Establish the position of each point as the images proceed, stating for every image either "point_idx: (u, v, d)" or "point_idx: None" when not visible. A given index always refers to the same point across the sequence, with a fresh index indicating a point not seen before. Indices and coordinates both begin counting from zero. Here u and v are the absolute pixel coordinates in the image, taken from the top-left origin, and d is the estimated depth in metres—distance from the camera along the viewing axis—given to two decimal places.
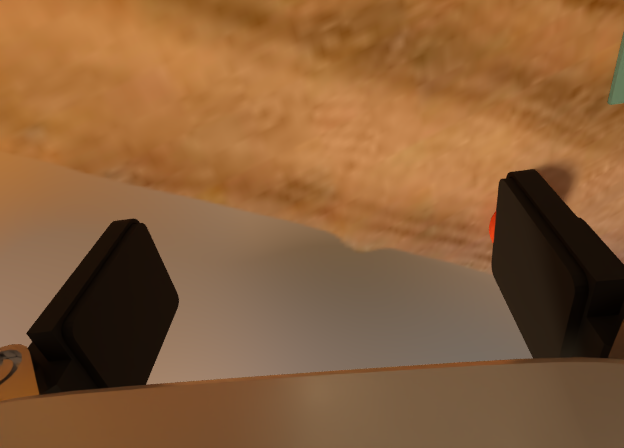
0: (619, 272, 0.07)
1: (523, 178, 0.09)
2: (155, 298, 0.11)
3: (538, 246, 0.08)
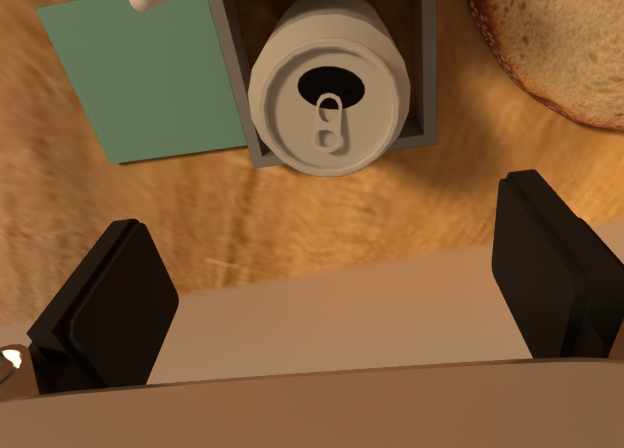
0: (618, 272, 0.07)
1: (523, 178, 0.09)
2: (155, 298, 0.11)
3: (538, 246, 0.08)
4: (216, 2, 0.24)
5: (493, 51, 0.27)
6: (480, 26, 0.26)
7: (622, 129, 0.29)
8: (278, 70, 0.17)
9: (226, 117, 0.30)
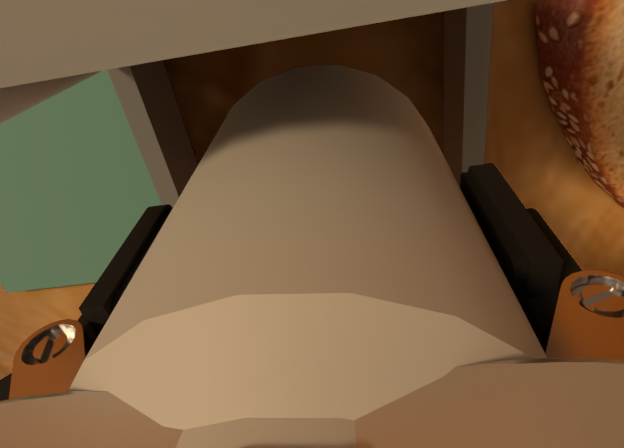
0: (553, 256, 0.07)
1: (481, 171, 0.10)
2: None
3: (489, 234, 0.09)
4: (128, 92, 0.15)
5: (570, 140, 0.18)
6: (557, 103, 0.17)
7: None
8: None
9: None
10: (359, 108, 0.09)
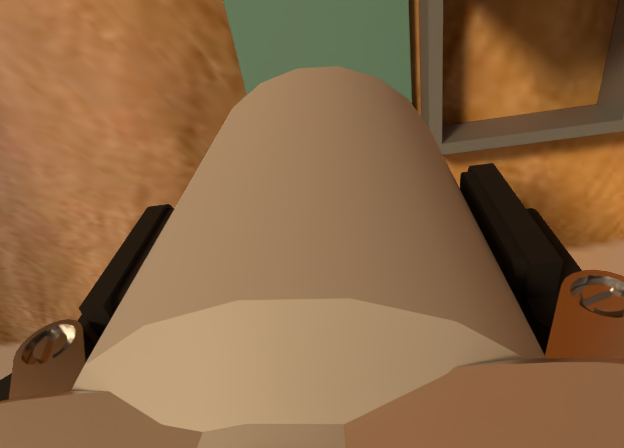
0: (552, 256, 0.07)
1: (481, 171, 0.10)
2: None
3: (489, 234, 0.09)
4: None
5: None
6: None
7: None
8: None
9: None
10: (359, 111, 0.09)
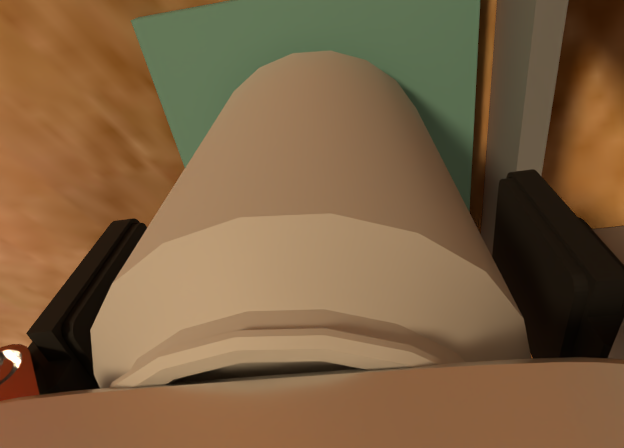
0: (618, 272, 0.07)
1: (523, 178, 0.09)
2: None
3: (538, 246, 0.08)
4: (552, 8, 0.11)
5: None
6: None
7: None
8: None
9: None
10: (347, 86, 0.10)
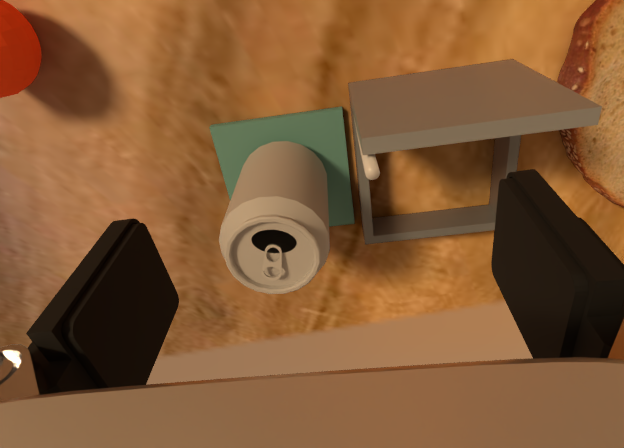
0: (618, 272, 0.07)
1: (523, 178, 0.09)
2: (155, 298, 0.11)
3: (538, 246, 0.08)
4: None
5: (565, 143, 0.35)
6: None
7: None
8: (237, 234, 0.26)
9: (342, 203, 0.39)
10: (290, 159, 0.32)
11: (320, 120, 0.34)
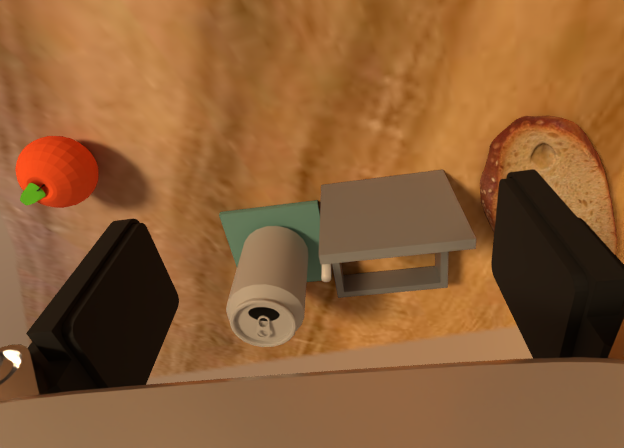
0: (619, 273, 0.07)
1: (523, 178, 0.09)
2: (155, 298, 0.11)
3: (538, 246, 0.08)
4: None
5: (490, 224, 0.46)
6: (485, 211, 0.45)
7: None
8: (238, 310, 0.38)
9: (320, 265, 0.50)
10: (277, 245, 0.43)
11: (301, 210, 0.46)
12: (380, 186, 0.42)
